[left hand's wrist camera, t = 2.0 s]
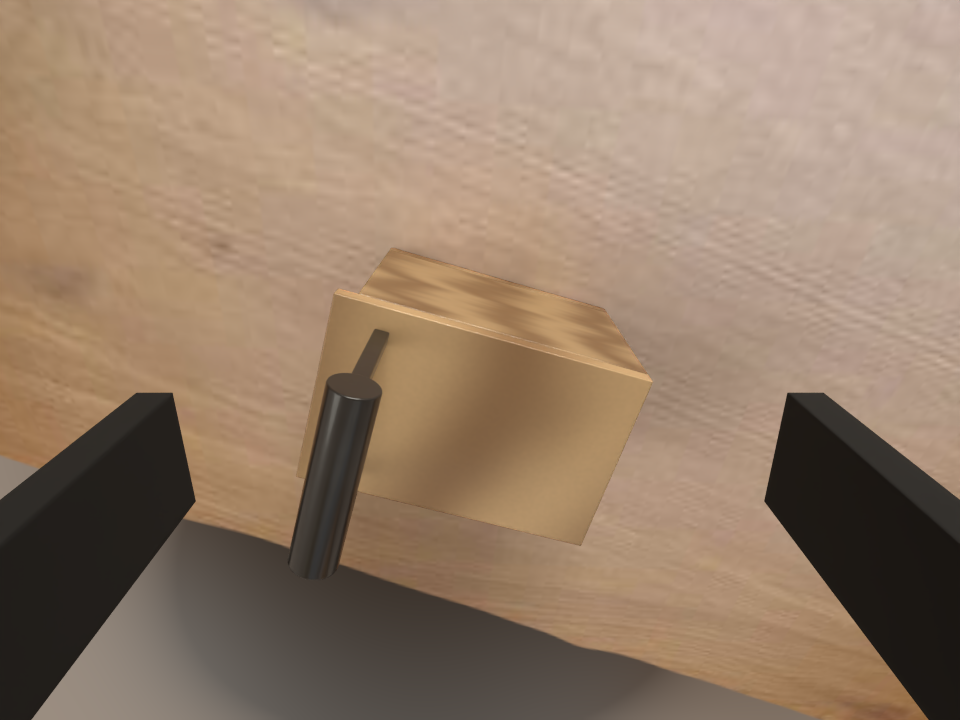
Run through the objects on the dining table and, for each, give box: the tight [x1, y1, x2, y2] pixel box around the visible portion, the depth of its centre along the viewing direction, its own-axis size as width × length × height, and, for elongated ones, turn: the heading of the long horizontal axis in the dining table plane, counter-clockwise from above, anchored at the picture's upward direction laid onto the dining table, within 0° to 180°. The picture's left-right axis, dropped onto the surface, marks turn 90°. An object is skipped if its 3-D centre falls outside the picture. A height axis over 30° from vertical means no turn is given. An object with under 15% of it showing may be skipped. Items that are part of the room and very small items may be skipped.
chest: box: [359, 248, 647, 374], centre depth 33 cm, size 14×10×10 cm
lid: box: [288, 289, 653, 580], centre depth 25 cm, size 15×10×8 cm, turn 74°
